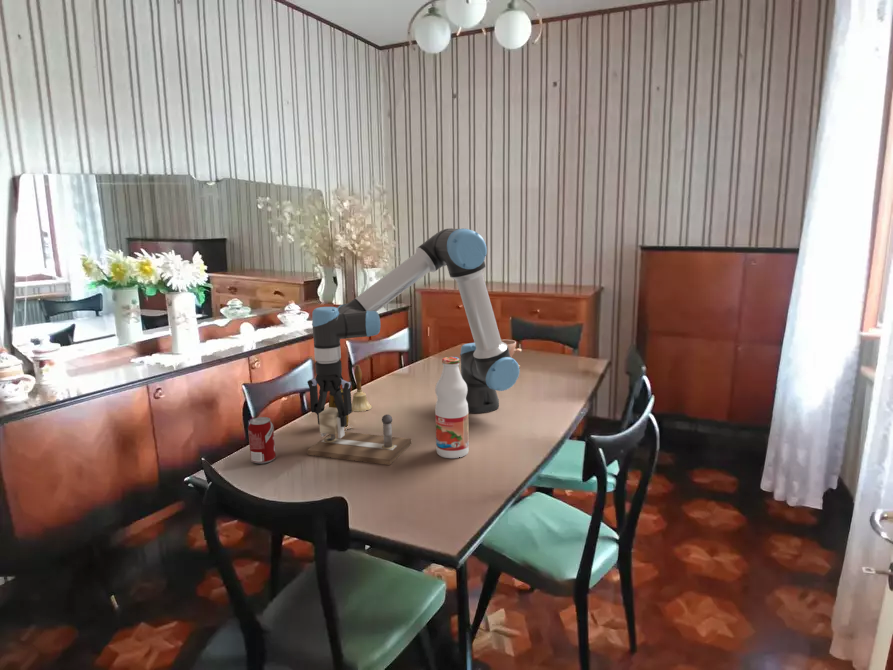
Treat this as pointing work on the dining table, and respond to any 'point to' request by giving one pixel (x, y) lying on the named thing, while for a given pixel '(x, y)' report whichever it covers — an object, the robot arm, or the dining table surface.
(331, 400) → the condiment
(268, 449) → the soda can
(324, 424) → the leg
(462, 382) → the fruit juice
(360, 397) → the hand bell
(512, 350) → the ceramic jug
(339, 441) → the hole plate
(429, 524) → the dining table surface
